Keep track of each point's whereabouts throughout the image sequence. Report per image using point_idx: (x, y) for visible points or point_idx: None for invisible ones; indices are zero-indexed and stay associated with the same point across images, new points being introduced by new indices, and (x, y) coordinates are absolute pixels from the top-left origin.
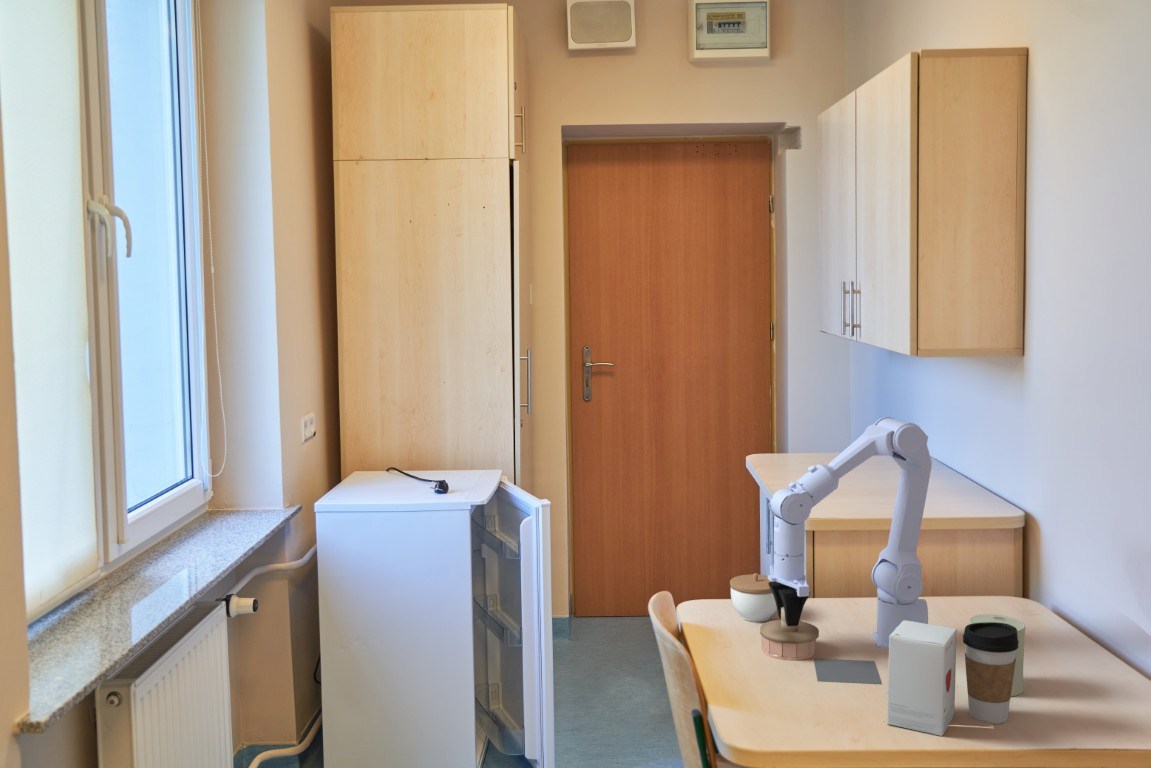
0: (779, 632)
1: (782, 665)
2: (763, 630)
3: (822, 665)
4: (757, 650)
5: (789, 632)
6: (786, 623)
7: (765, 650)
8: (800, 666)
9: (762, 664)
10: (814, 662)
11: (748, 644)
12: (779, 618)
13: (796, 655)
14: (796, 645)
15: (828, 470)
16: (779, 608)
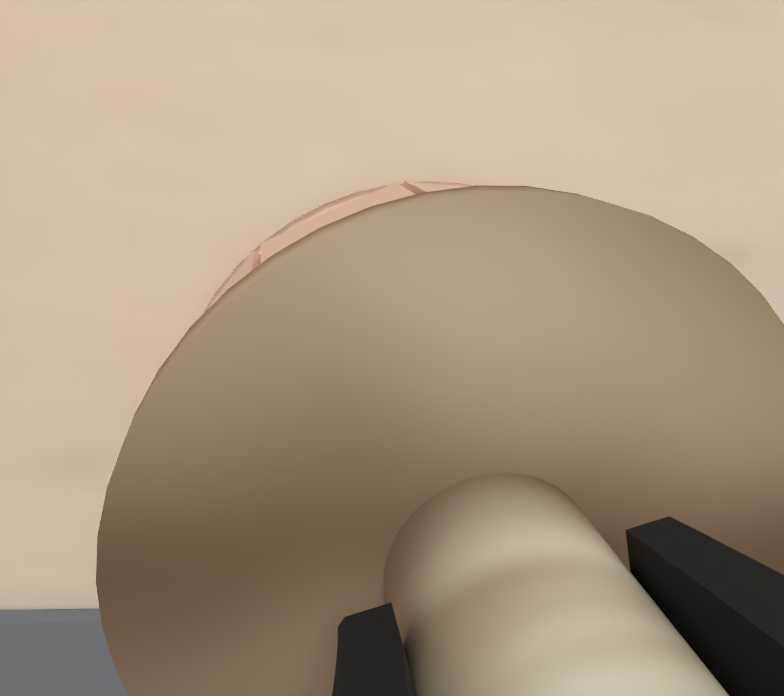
0: (372, 447)
1: (77, 344)
2: (459, 231)
3: (63, 677)
4: (488, 140)
5: (371, 565)
6: (383, 619)
7: (330, 211)
8: (75, 499)
9: (78, 138)
10: None
11: (658, 67)
12: (669, 520)
13: None
14: None
15: None
16: (751, 644)
